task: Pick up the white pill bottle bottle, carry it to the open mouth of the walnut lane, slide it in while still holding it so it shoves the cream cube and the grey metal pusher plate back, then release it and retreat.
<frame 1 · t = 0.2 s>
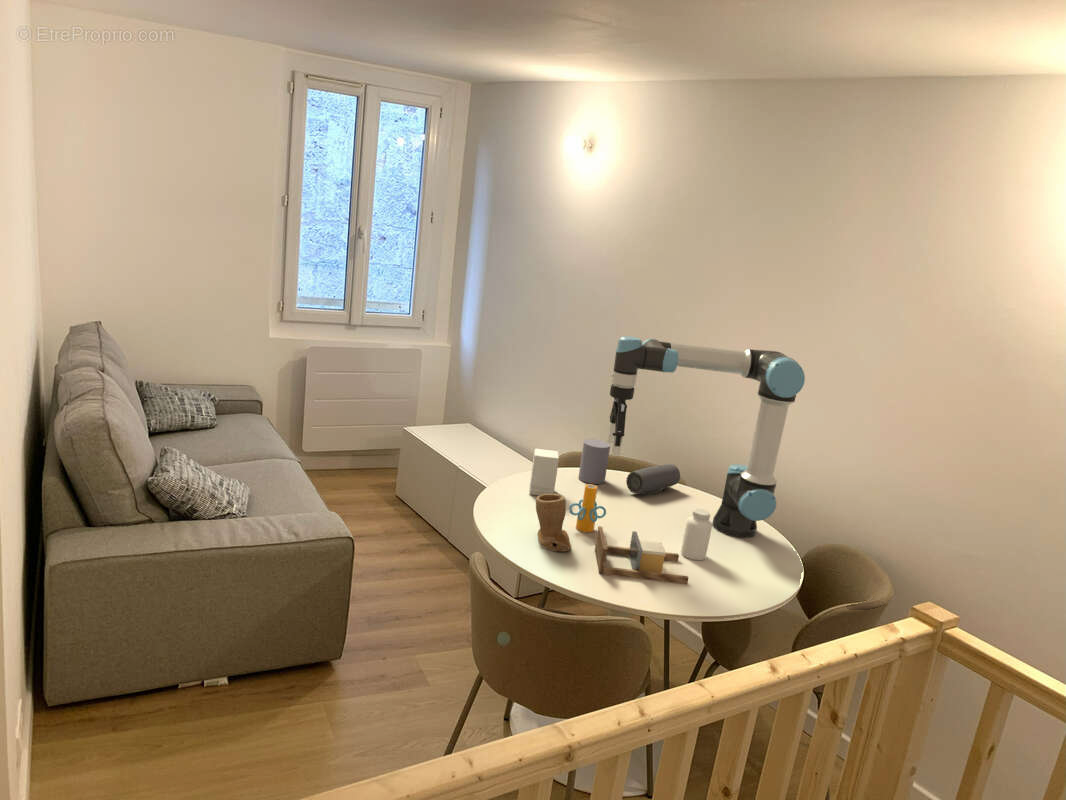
hand: (613, 448, 259), 28 cm above the table, fingers open, 13 cm apart
bluetooth speaker: (651, 492, 308), on the table
lane: (639, 566, 240), on the table
pill bottle: (693, 555, 254), on the table
stone cup: (549, 543, 249), on the table
container: (591, 480, 312), on the table
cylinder: (584, 529, 263), on the table
pusher: (635, 552, 239), point 4 cm above the table, slide at 0.0 cm
cream cube: (648, 568, 240), resting in lane
supplement box: (541, 492, 292), on the table
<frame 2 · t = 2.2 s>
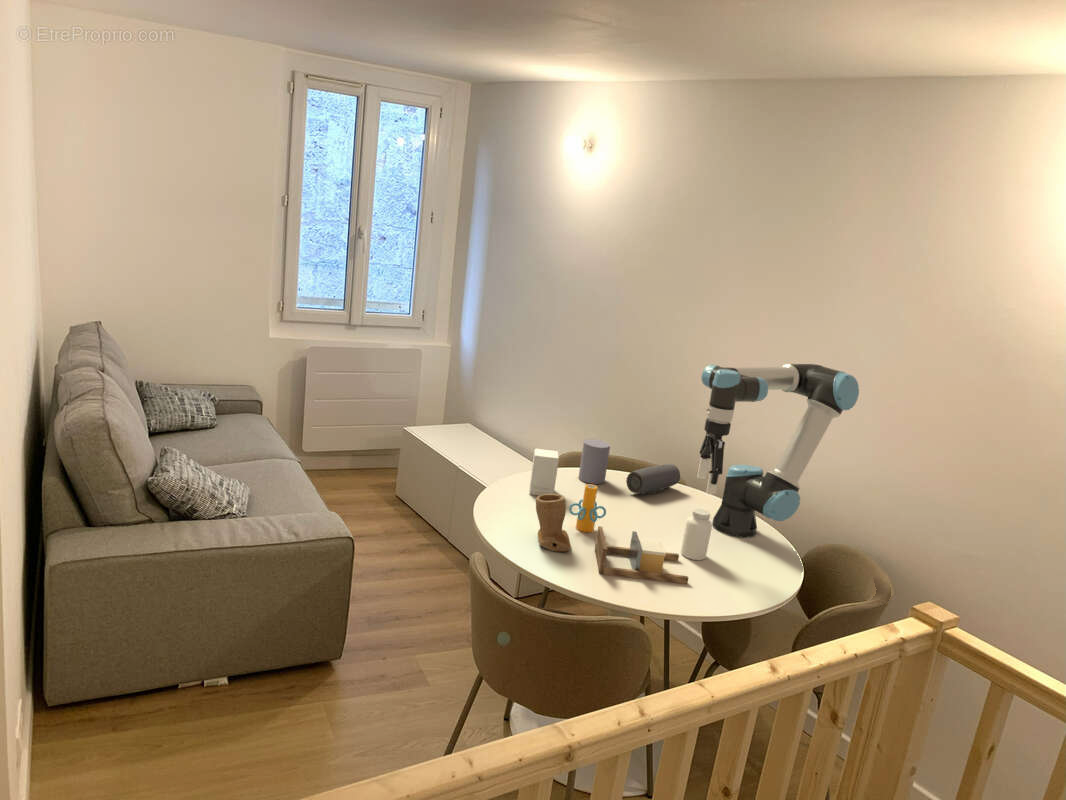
hand: (705, 485, 248), 24 cm above the table, fingers open, 13 cm apart
nothing on the table moved.
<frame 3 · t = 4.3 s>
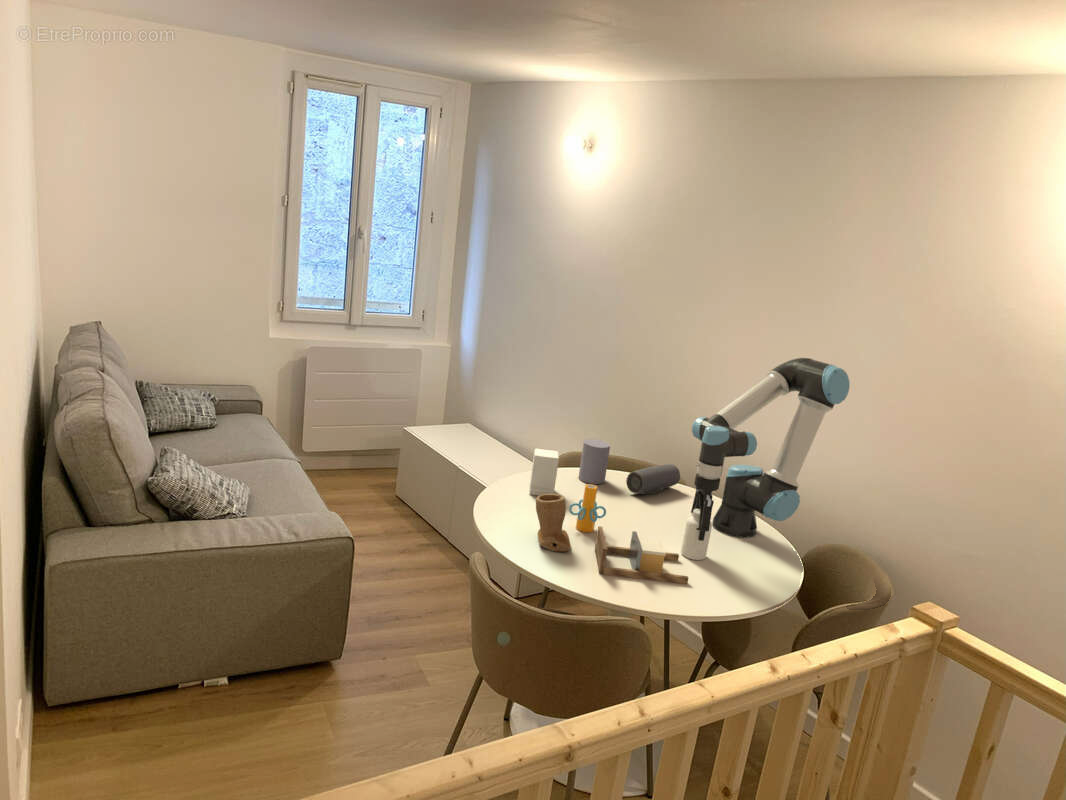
hand: (695, 543, 253), 4 cm above the table, fingers closed on pill bottle, 8 cm apart
pill bottle: (693, 555, 254), on the table, touching gripper
everything else where it was.
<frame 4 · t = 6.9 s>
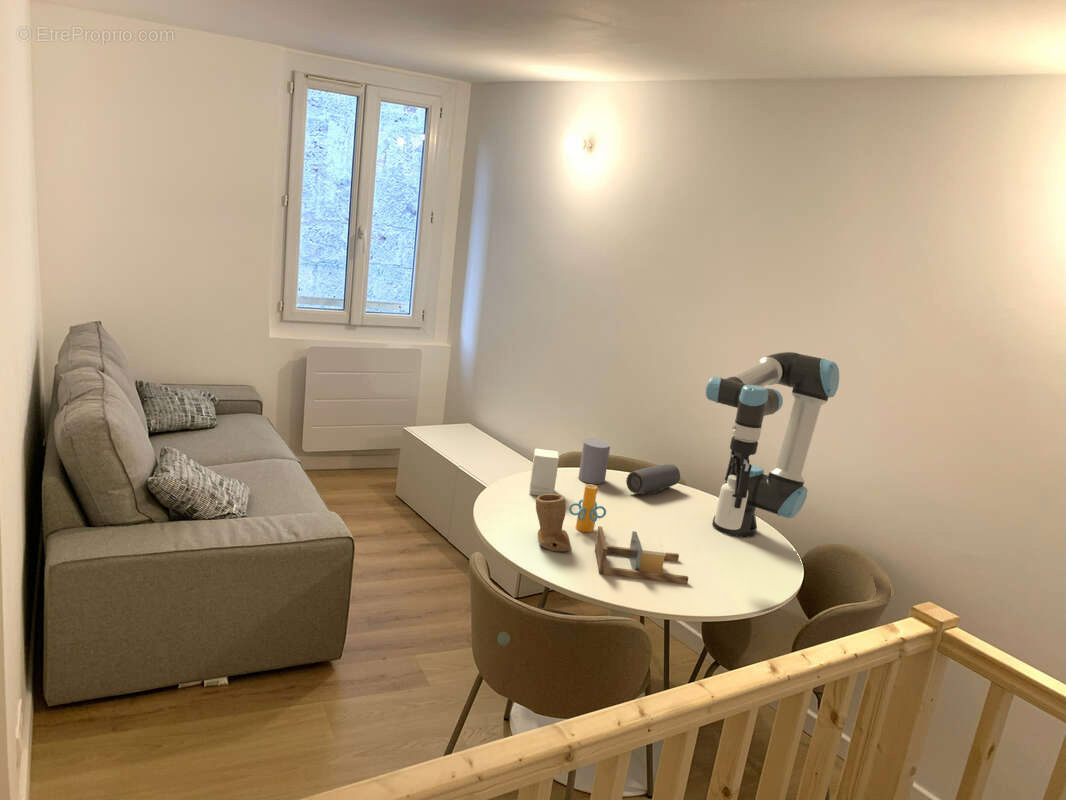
hand: (730, 511, 236), 21 cm above the table, fingers closed on pill bottle, 8 cm apart
pill bottle: (727, 525, 237), point 16 cm above the table, touching gripper
everything else where it was.
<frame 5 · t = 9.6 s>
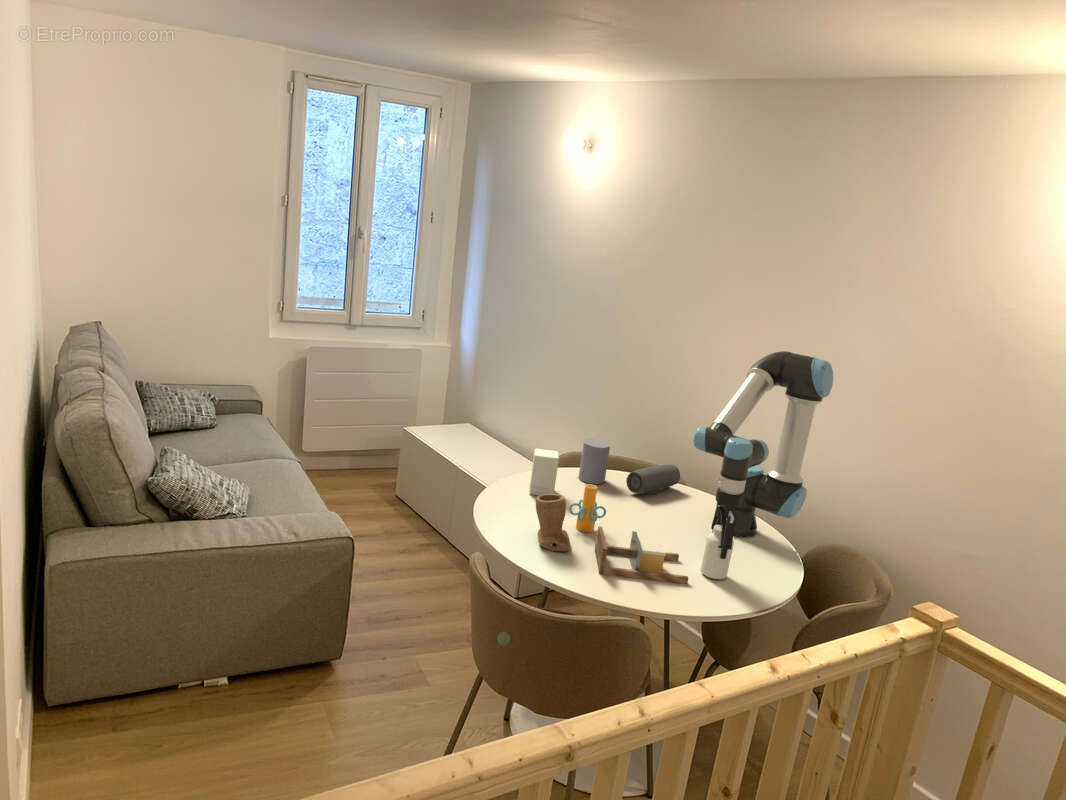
hand: (716, 561, 240), 5 cm above the table, fingers closed on pill bottle, 8 cm apart
pill bottle: (713, 574, 241), on the table, touching gripper
everything else where it was.
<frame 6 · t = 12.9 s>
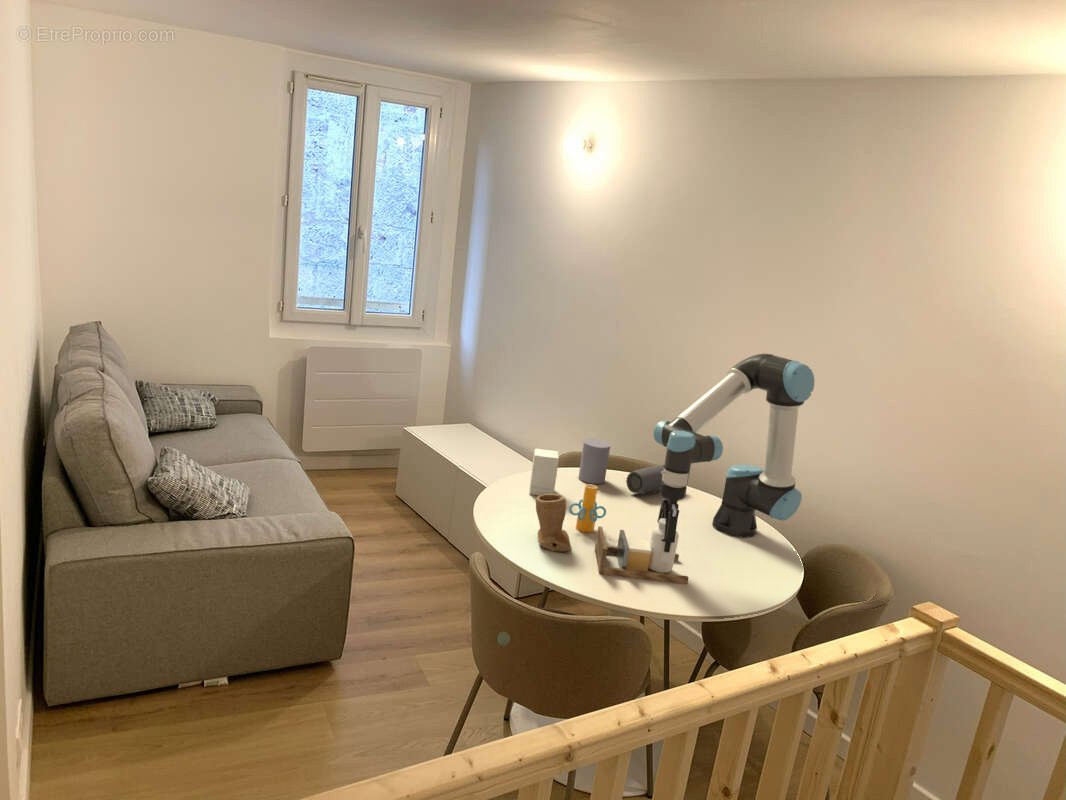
hand: (661, 554, 239), 5 cm above the table, fingers closed on pill bottle, 8 cm apart
pill bottle: (659, 568, 240), on the table, touching gripper, cream cube
pusher: (622, 551, 239), point 4 cm above the table, slide at 3.9 cm, touching cream cube
cream cube: (634, 566, 240), resting in lane, touching pill bottle, pusher
everything else where it was.
when the fingers open (5 cm above the table, at t = 14.9 s): pill bottle stays where it is, on the table.
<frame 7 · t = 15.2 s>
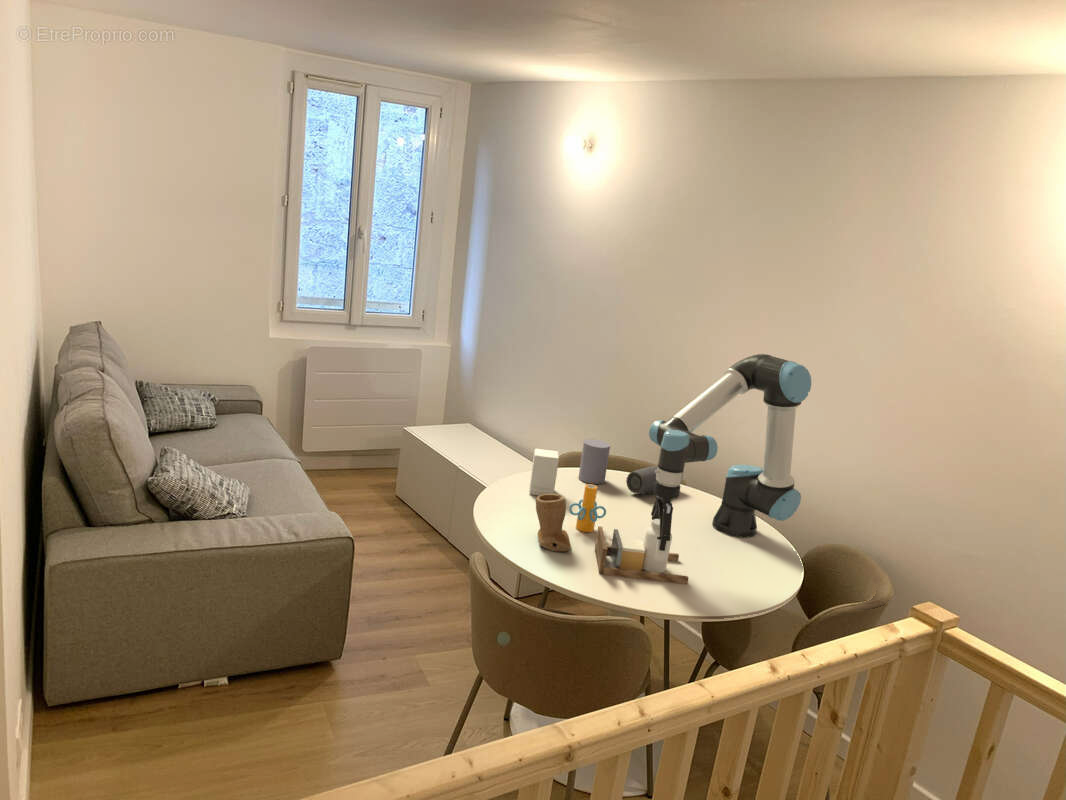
hand: (655, 550, 239), 6 cm above the table, fingers open, 12 cm apart
pill bottle: (652, 568, 241), on the table
pusher: (616, 550, 239), point 4 cm above the table, slide at 5.8 cm
cream cube: (627, 565, 240), resting in lane
everything else where it was.
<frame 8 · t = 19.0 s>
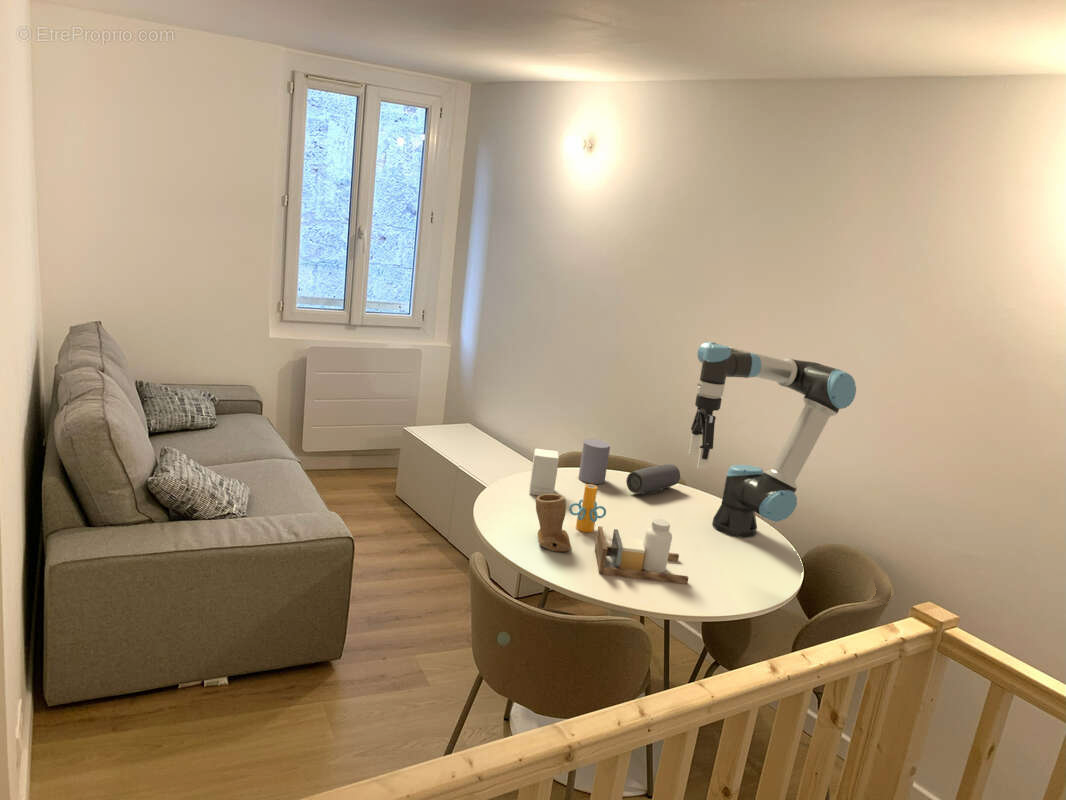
hand: (697, 461, 247), 31 cm above the table, fingers open, 13 cm apart
nothing on the table moved.
at the end: pill bottle inside the target area (1.0 cm from its centre), on the table; pusher slide at 5.8 cm; pill bottle tilted 0° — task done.
